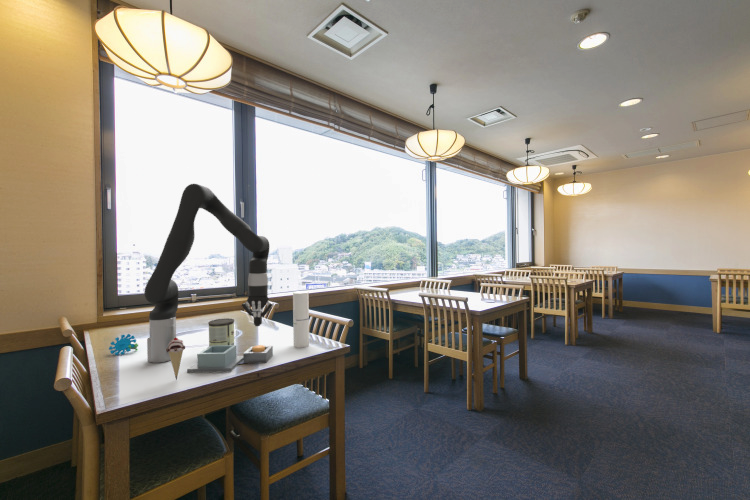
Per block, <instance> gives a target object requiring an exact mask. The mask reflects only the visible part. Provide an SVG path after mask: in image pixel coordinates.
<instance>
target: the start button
mask: <svg viewBox="0 0 750 500" xmlns="http://www.w3.org/2000/svg"><path fill="white" fill-rule="evenodd" d="M253 346H254V347H252V352H264V351H265V346H266V345H261V344H260V345H259V344H257V345H253Z"/></svg>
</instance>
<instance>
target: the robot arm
mask: <svg viewBox="0 0 750 500" xmlns="http://www.w3.org/2000/svg"><path fill="white" fill-rule="evenodd" d="M200 209H203V210H204V211H206V212H208V213H210V215H212V216H214V217H215V218H216V219H217V220H218V221H219V222H220V224H221V225H222V226H223V228H224V229H226V231H228V233H230V234H231V235H232V236H233V237H235V238H236V239H237V240H238V241H239V242H240V244H242V245H243V246H244V247H243V248H245V249H246V250H248V251H249V252H251V253H252V258H251V259H250V260H249V263H248V277H247V278H248V279H247V282H248V284H247V285H248V286H247V287H248V288H247V289H248V291H247V293H248V294H247V299H246V301H245V302H244V303H242V304H241V307H242V308H243V309H244V310H245V312H246V313H247V315H248V316H250V317H253V324H254V326H255V327H261V325H262V322H263V317H264V316H265V315H267V314H268V313H269V311H271V308H272V307H274V303H273V302H271V301H270V300H269V296H268V294H269V289H268V286H269V285H268V283H269V280H268V259H269V254H270V242H269V240H268V238H267V237H266V236H263V235H258V234H257V233H255V232H254V231H253V230H252V228H251V226H250V225H249V224H248V223H246V222H245V221H244V220H243V219H241V218H240V217H239V216H237V214H235V213H234V212H233V211H231V210H230V209H229V208H228V207H227V206H226V205H225V204H224V203H223V202H221V200H220V199H219V197H218V196H217V195H216V194H215V193H214V192H213V191H212V190H211V189H210V188H209V187H207V186H203V185H200V184H198V183H190V184H188V185H187V186H186V187H185V188H184V190H183V191H182V195H181V197H180V201H179V205H178V208H177V213H176V216H175V218H174V221H173V223H172V226H171V229H170V230H169V234H168V236H167V238H166V241H165V244H164V245H163V249H162V251H161V254H160V256H159V259H158V262H157V263H156V266H155V268H154V270H153V272H152V274H151V276H150V277H149V280H148V281H147V283H146V285H145V288H144V297H145V299H146V301H147V302H148V303H151V304H155V306H154V308H153V309H152V310H151V311H150V312H149V313H148V314H149V315H148V316H149V317H148V319H149V321H148V322H149V324H148V325H149V337H147V339H146V340H147V341H146V347H147V349H146V351H147V353H146V354H147V358H146V359H147V362H150V363H153V364H154V363H159V364H160V363H164V362H170V361H171V359H170V355H169V352H167V351H166V349H167V348H168V344H169V343H170V341H172V340H174V338H177V316H176V315H177V311H178V309H179V288H178V287H179V286H178V284H177V283H176V281H175V280H173V279H172V278H173V276H174V274H175V272H176V271H177V269H178V268H179V267H180V265H182V263H183V262H184V261H185V260H186V259H187V257H188V256H189V255H190V252H191V250H192V247H193V244H194V241H195V220H196V216H197V214H198V212H199V210H200ZM265 307H266V308H265ZM264 308H265V309H264Z"/></svg>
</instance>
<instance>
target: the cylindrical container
mask: <svg viewBox="0 0 750 500" xmlns="http://www.w3.org/2000/svg"><path fill="white" fill-rule="evenodd" d="M309 299H310V298H309V291H307V290H305V291H304V290H303V291H300V290H297V291H293V292H292V315H293V317H292V318H293V319H292V323H293V325H292V326H293V328H292V329H293V332H292V333H293V334H292V335H293V338H292V339H293V347H294V348H297V349H298V348H299V349H300V348H307V347H309V345H310V317H309V316H310V313H309V312H310V311H309V309H310V308H309V307H310V306H309V305H310V304H309V301H310V300H309Z"/></svg>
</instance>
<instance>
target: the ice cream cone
mask: <svg viewBox="0 0 750 500" xmlns="http://www.w3.org/2000/svg"><path fill="white" fill-rule="evenodd" d="M185 349H186V346H185V345H184V340H181V339H179V338H178V337H176V338H174V340H172V341H170V343H169V344H168V348H167V349H166V351H167V352H169V355H170V359H171V360H170V361H171V365H172V369H173V372H174V376H175V380H176V381H177V379H178V375H179V371H180V365H181V361H182V356H183V353H184V350H185Z"/></svg>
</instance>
